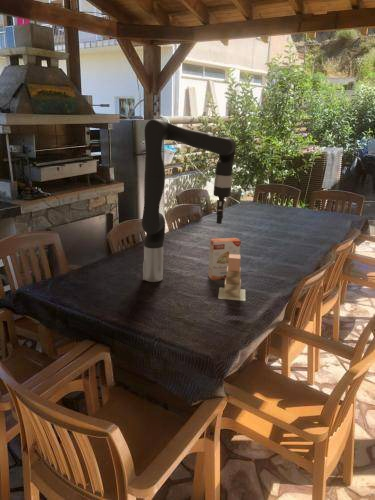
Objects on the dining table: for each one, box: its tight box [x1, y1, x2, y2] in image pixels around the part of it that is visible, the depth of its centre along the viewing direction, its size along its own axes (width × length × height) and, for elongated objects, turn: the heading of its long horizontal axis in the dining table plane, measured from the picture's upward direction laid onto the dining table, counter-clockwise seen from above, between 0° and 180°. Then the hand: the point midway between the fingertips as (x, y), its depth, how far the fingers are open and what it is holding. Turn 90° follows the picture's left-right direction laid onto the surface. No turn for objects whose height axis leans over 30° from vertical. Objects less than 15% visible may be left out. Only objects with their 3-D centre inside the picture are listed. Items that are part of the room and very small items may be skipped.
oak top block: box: [226, 266, 242, 285], centre depth 184 cm, size 6×6×6 cm
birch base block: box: [223, 278, 242, 298], centre depth 186 cm, size 7×7×6 cm
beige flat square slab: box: [217, 287, 246, 302], centre depth 187 cm, size 12×12×2 cm
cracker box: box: [207, 237, 242, 281], centre depth 203 cm, size 14×6×21 cm, turn 105°
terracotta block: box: [228, 254, 242, 272], centre depth 182 cm, size 5×5×6 cm
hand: (219, 221), depth 185 cm, fingers open, 8 cm apart
